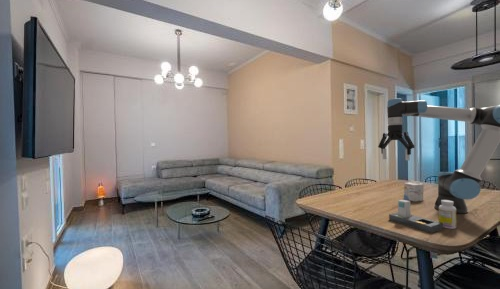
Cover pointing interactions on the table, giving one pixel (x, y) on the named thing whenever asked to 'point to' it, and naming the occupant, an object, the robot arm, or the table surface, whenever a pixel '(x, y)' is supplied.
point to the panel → (417, 222)
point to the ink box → (413, 191)
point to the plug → (404, 208)
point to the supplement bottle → (447, 214)
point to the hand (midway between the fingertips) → (395, 159)
